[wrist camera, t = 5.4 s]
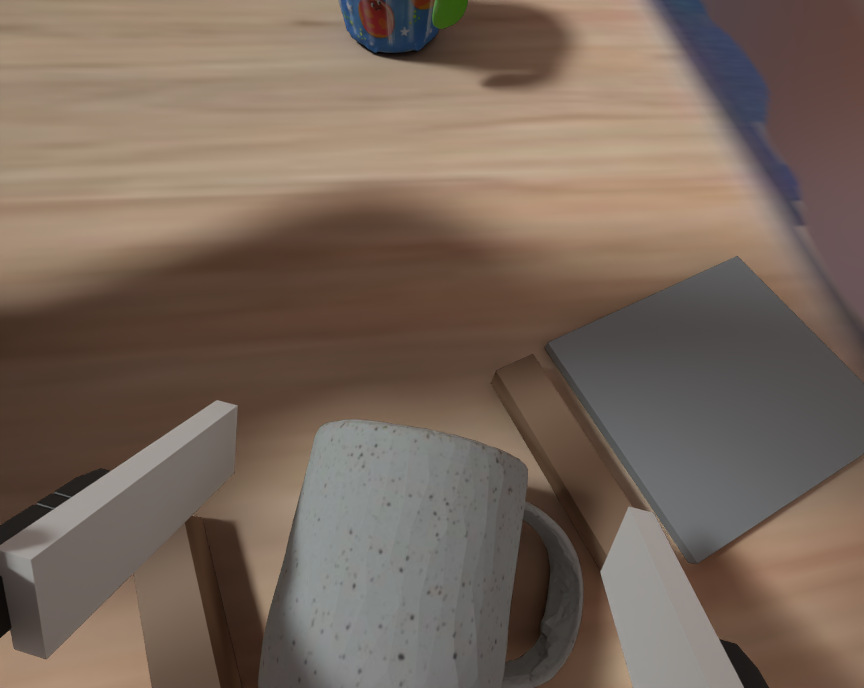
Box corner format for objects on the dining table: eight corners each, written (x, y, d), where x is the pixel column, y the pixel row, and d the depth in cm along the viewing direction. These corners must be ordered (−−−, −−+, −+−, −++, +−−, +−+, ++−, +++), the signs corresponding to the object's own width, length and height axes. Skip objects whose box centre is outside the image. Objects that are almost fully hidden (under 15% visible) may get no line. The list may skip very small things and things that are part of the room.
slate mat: (544, 347, 22) (547, 342, 21) (730, 262, 24) (737, 255, 24) (688, 563, 17) (697, 563, 17) (892, 429, 20) (905, 426, 20)
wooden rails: (152, 541, 17) (128, 539, 16) (525, 367, 21) (533, 353, 20) (210, 853, 13) (184, 891, 12) (652, 568, 17) (674, 570, 16)
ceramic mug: (281, 670, 15) (178, 770, 8) (338, 449, 19) (297, 393, 12) (568, 723, 15) (702, 871, 8) (570, 489, 19) (664, 455, 12)
